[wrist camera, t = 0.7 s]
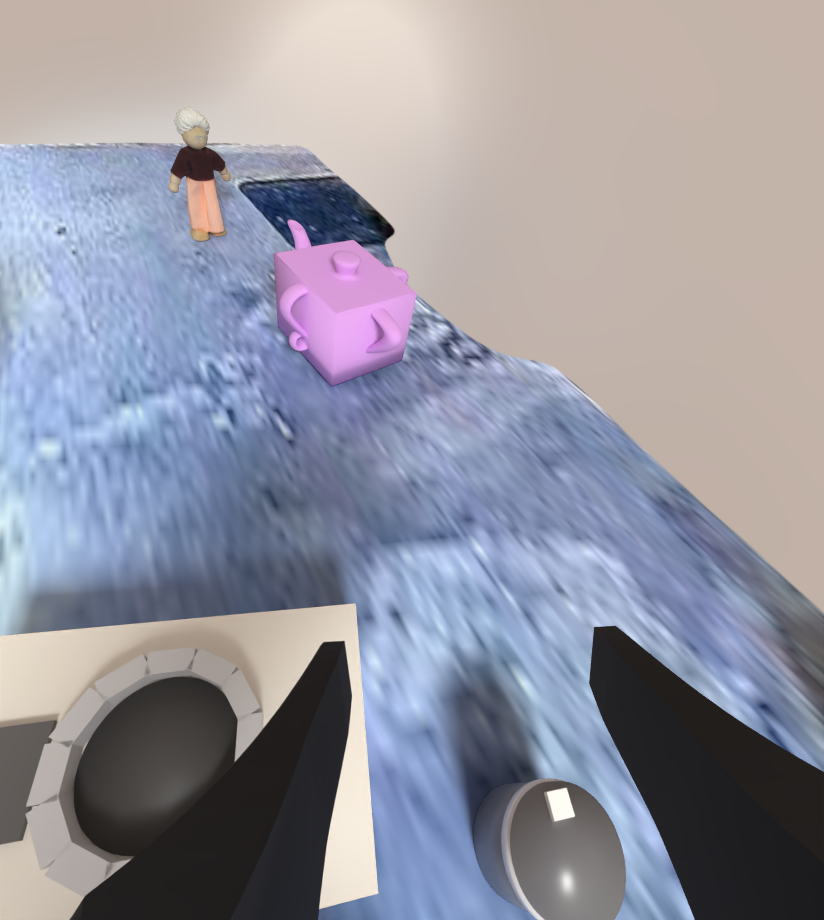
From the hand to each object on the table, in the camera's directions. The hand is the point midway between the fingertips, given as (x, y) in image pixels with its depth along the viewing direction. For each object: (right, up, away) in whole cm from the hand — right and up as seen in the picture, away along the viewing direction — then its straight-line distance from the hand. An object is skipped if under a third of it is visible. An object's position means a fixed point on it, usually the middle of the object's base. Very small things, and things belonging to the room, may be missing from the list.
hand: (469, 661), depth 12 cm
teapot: (-9, +18, +33) cm, 39 cm away
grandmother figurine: (-27, +35, +41) cm, 60 cm away
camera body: (-13, -10, +10) cm, 19 cm away
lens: (+4, -14, +10) cm, 18 cm away
